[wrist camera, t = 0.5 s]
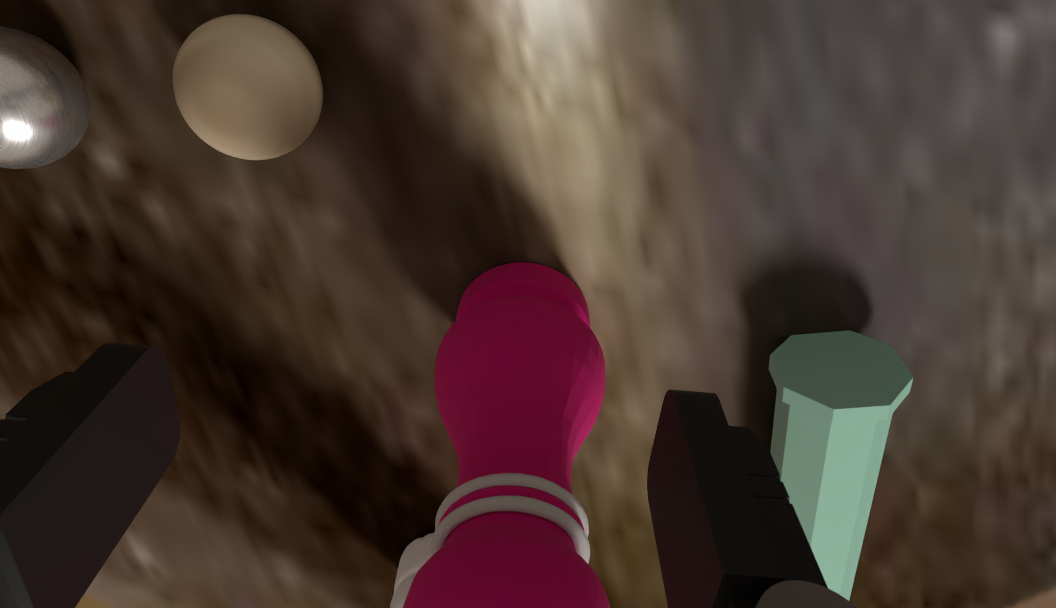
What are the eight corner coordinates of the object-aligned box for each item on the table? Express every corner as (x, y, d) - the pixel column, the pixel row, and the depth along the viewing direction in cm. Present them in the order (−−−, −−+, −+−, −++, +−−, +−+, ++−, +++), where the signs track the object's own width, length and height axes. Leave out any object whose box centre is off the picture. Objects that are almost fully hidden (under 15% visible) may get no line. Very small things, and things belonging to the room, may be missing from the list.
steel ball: (-11, -13, 26) (-120, 13, 21) (127, 55, 27) (48, 92, 23) (-24, 104, 28) (-124, 148, 24) (103, 162, 29) (29, 213, 25)
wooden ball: (228, -25, 25) (164, -1, 21) (356, 44, 26) (320, 80, 22) (194, 95, 28) (130, 139, 23) (313, 154, 29) (273, 205, 25)
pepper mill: (459, 236, 31) (354, 693, 14) (617, 267, 31) (695, 739, 15) (438, 362, 35) (335, 838, 18) (578, 387, 35) (605, 869, 19)
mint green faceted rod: (835, 727, 42) (914, 423, 28) (734, 692, 44) (760, 396, 30) (841, 638, 46) (912, 337, 32) (749, 611, 48) (778, 319, 34)
